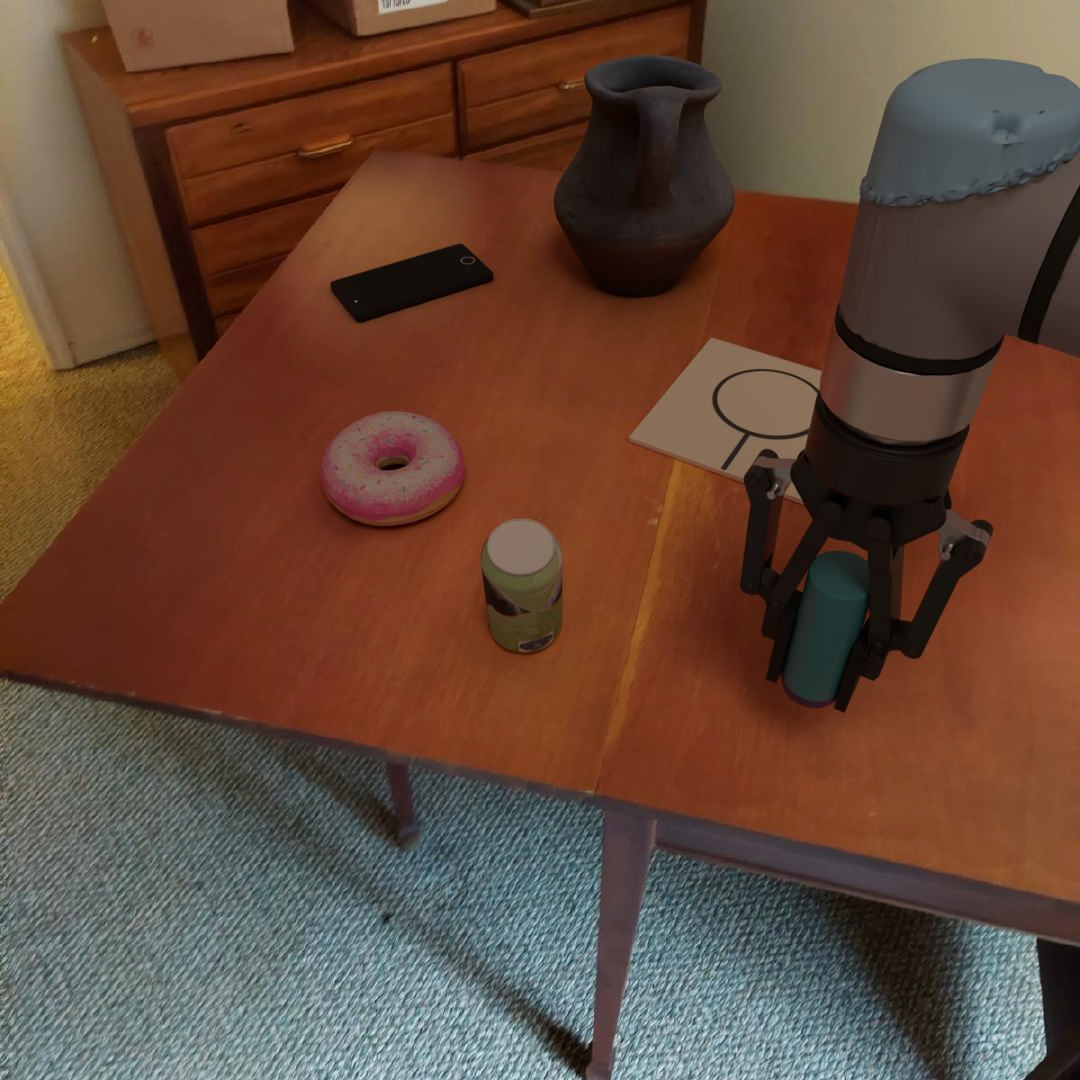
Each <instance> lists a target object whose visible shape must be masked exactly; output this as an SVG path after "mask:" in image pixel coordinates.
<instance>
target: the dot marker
mask: <svg viewBox="0 0 1080 1080" xmlns="http://www.w3.org/2000/svg"><path fill="white" fill-rule="evenodd" d="M867 566H868V559H865V558H864V557H862V555H861V556H860V555H858V554H856V553H854V552H850V551H846V550H840V549H839V550H838V549H837V550H836V549H835V550H827V551H824V552H822V553H821V552H820V553H818V554H817V556H816V558H815V559H814V561H813V563H812V564H811V566H810V567H809V569H808V571H807V572H806V577H805V581H804V584H803V589H802V591H801V592H802V596H801V600H800V604H799V608H798V612H797V616H796V620H795V624H794V627H793V631H792V635H791V639H790V643H789V647H788V651H787V655H786V659H785V663H784V666H783V670H782V673H781V675H780V685H781V688H782V690H783V692H784V693H785V695H786V696H787V697H788V698H789V699H790V700H791V701H792V702H794V703H796V704H797V705H798V706H799V705H800V706H802V707H805V708H809V709H822V708H827V707H829V706H831V705H833V704H835V702H836V699H837V696H838V693H839V690H840V687H841V684H842V681H843V678H844V675H845V672H846V669H847V666H848V663H849V660H850V657H851V654H852V651H853V648H854V646H855V643H856V641H857V639H858V637H859V635H860V633H861V631H862V628H863V626H864V624H865V622H866V620H867V617H868V614H869V594H870V570H868V567H867Z"/></svg>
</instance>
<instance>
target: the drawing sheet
mask: <svg viewBox="0 0 1080 1080" xmlns="http://www.w3.org/2000/svg"><path fill="white" fill-rule="evenodd" d="M821 372H822V370H819V369H816V368H813V367H809V366H807V365H803V364H801V363H800V364H799V363H797V362H793V361H790V360H787V359H783V358H780V357H777V356H774V355H770V354H767V353H764V352H761V351H757V350H754V349H751V348H748V347H745V346H741V345H739V344H734V343H731V342H728V341H725V340H721V339H718V338H715V337H712V336H711V337H710V338H709V339H708V340H707V342H706V343H705V344H704V346H703V347H702V348H701V349H700V350H699V351H698V353H696V355H695V356H694V357H693V359H692V360H691V361H690V362H689V364H687V366H686V367H685V368H684V370H683V371H682V372H681V373H680V375H678V377H677V378H676V379H675V380H674V382H673V383H672V384H671V385H670V387H668V389H666V391H665V393H664V394H663V395H662V396H661V397H660V398H659V400H658V401H657V402H656V404H654V406H653V407H652V408H651V409H650V411H649V412H648V413H647V415H645V417H644V418H643V419H642V420H641V422H640V423H639V424H638V425H637V426H636V428H635V429H634V430H633V431H632V432H631V433H630V435H629V436H628V442H629V443H632V444H634V445H637V446H640V447H643V448H646V449H647V450H651V451H653V452H656V453H659V454H661V455H665V456H667V457H669V458H670V457H671V458H673V459H676V460H679V461H681V462H684V463H686V464H690V465H692V466H695V467H698V468H701V469H703V470H706V471H708V472H711V473H714V474H717V475H719V476H722V477H726V478H727V479H731V480H733V481H736V482H739V483H742V484H744V476H745V474H746V472H747V471H748V469H749V468H750V466H751V465H752V463H753V462H754V460H755V459H756V457H757V456H758V454H759V453H760V451H762V450H763V449H771V450H773V451H775V452H776V453H777V455H778V457H779V458H792V459H797V457H798V455H799V453H800V452H801V451H802V450H803V449H805V445H806V441H807V436H808V432H809V428H810V423H811V419H812V414H813V410H814V405H815V401H816V397H817V394H818V392H819V387H820V377H821ZM783 499H786V500H789V501H791V502H793V503H797V504H800V505H803V506H805V505H804V503H803V501H802V499H801V497H800V495H799V494H798V492H797V490H796V488H795V486H794V484H793V482H791V483H790V485H789V487H788V489H787V490H786V492H785V493H784V497H783Z"/></svg>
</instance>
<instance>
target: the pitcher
mask: <svg viewBox="0 0 1080 1080" xmlns="http://www.w3.org/2000/svg"><path fill="white" fill-rule="evenodd" d="M583 80H584V86H585V88H586V91H587V93H588V95H589V97H590V98H591V108H590V114H589V120H588V124H587V127H586V129H585V133H584V136H583V138H582V141H581V145H580V147H579V148H578V149H577V152H576V153H575V155H574V157H573V158H572V160H571V161H570V163H569V165H568V166H567V167H566V169H565V170H564V172H563V173H562V175H561V176H560V178H559V181H558V182H557V184H556V186H555V190H554V194H553V209H554V214H555V218H556V220H557V223H558V224H559V227H560V229H561V230H562V232H563V234H564V235H565V237H566V239H567V241H568V243H569V245H570V246H571V248H572V250H573V252H574V253H575V255H576V256H577V258H578V260H579V261H580V263H581V266H582V268H583V270H584V271H585V272H586V274H587V275H588V276H589V278H590V279H591V280H592V281H593V282H594V284H595V285H596V286H597V287H598V288H600V289H602V290H604V291H605V292H608V293H612V294H616V295H621V296H631V297H649V296H652V297H653V296H658V295H661V294H663V293H665V292H667V291H669V290H671V288H673V286H675V285H676V284H677V283H678V282H679V281H681V279H682V278H683V277H684V275H685V274H686V273H687V272H688V270H689V269H690V268H691V267H692V266H693V264H694V263H695V262H696V261H697V260H698V259H699V257H700V256H701V254H703V252H704V250H706V248H707V247H708V246H709V244H711V243H712V242H713V241H714V239H715V238H716V237H717V236H718V235H719V233H721V231H722V230H723V229H724V228H725V227H726V226H727V224H728V223H729V222H730V219H731V217H732V215H733V213H734V210H735V207H736V192H735V188H734V185H733V182H732V180H731V178H730V176H729V174H728V172H727V170H726V169H725V168H724V166H723V165H722V163H721V161H720V160H719V158H718V156H717V154H716V151H715V149H714V146H713V142H712V140H711V136H710V132H709V129H708V125H707V123H706V119H705V110H706V107H707V105H708V104H709V103H710V102H711V101H713V100H714V99H715V98H717V97H718V95H719V94H720V93H721V91H722V89H723V87H722V81H721V79H720V78H719V76H717V75H716V74H715V73H714V72H712V71H709V70H708V69H707V68H705V67H704V66H702V65H700V64H698V63H696V62H693V61H690V60H685V59H682V58H677V57H674V56H671V55H662V54H661V55H659V54H643V55H632V56H625V57H622V58H614V59H611V60H608V61H607V60H606V61H605V62H601V63H598V64H596V65H595V66H593V67H591V68H589V69H588V70H587V71H586V72H585V75H584V78H583Z"/></svg>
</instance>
